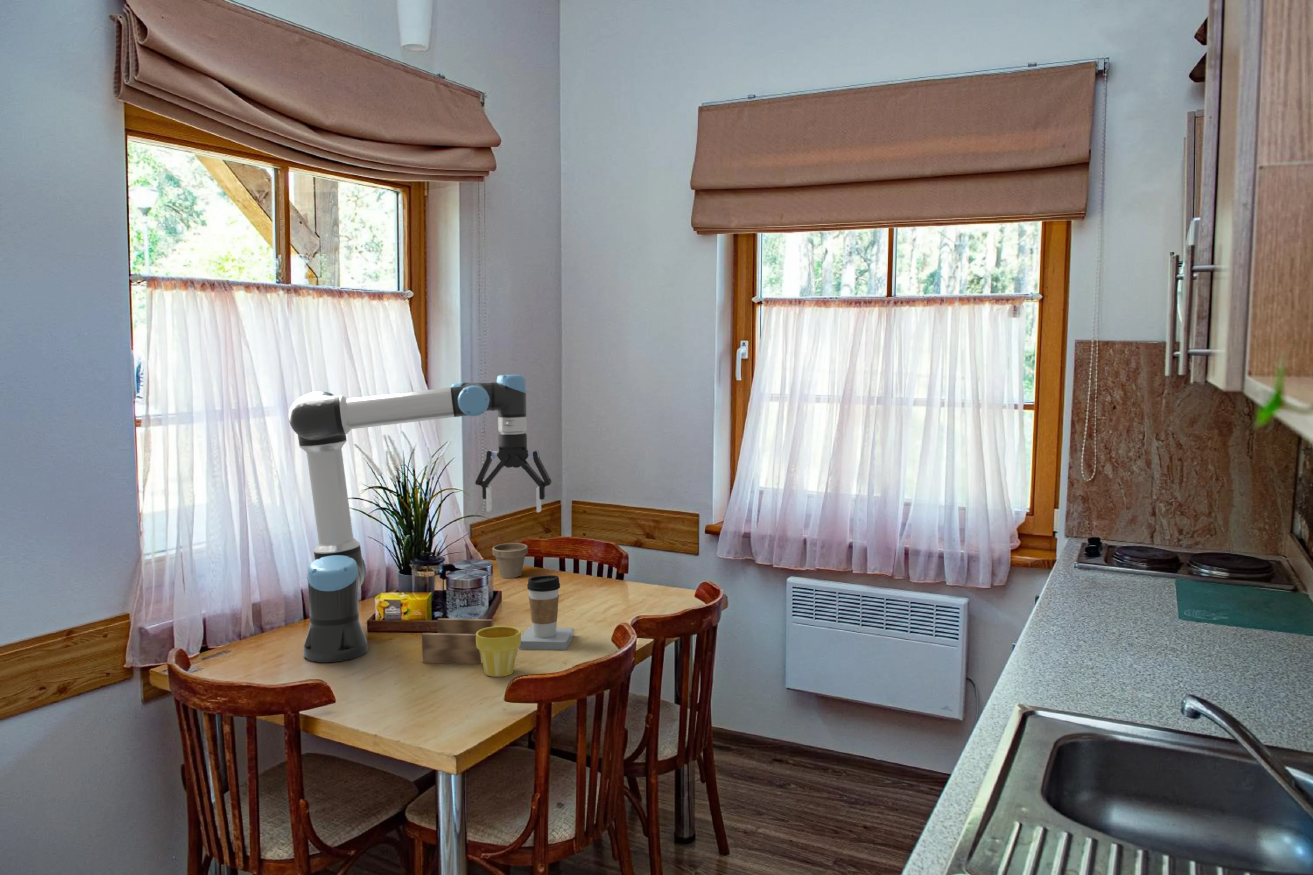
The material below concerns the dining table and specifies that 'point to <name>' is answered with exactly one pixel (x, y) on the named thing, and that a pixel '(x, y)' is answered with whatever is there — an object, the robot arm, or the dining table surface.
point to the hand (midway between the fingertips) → (514, 511)
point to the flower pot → (510, 558)
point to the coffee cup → (544, 604)
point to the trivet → (547, 640)
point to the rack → (454, 641)
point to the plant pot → (498, 649)
